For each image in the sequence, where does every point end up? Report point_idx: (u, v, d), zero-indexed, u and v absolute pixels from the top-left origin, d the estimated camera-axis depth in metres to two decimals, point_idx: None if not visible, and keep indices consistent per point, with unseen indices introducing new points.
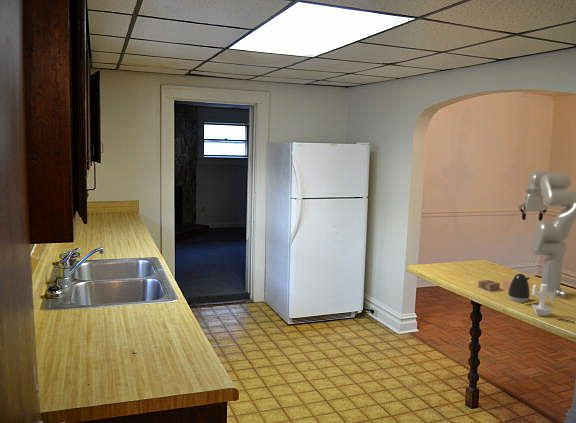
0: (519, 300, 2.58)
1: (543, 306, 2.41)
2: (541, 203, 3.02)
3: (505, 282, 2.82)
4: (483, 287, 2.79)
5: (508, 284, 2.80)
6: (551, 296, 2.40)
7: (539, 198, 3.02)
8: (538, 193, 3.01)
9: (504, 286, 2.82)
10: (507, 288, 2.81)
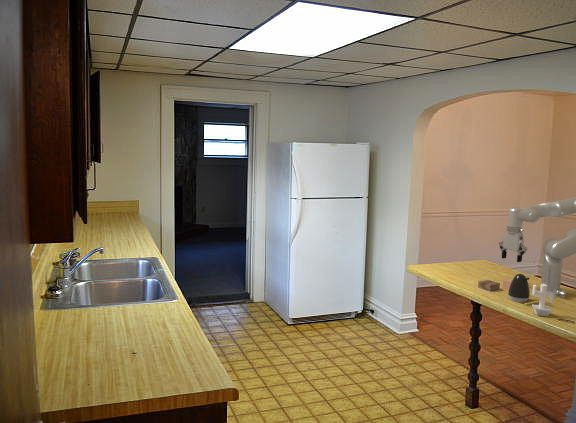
0: (519, 300, 2.58)
1: (543, 306, 2.41)
2: None
3: (505, 282, 2.82)
4: (483, 287, 2.79)
5: (508, 284, 2.80)
6: (551, 296, 2.40)
7: None
8: None
9: (504, 286, 2.82)
10: (507, 288, 2.81)
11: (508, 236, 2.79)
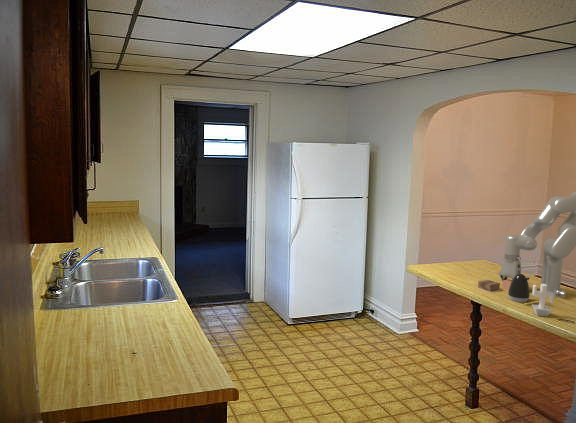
0: (519, 300, 2.58)
1: (543, 306, 2.41)
2: None
3: (505, 282, 2.82)
4: (483, 287, 2.79)
5: (508, 284, 2.80)
6: (551, 296, 2.40)
7: None
8: None
9: (504, 286, 2.82)
10: (507, 288, 2.81)
11: (506, 263, 2.81)
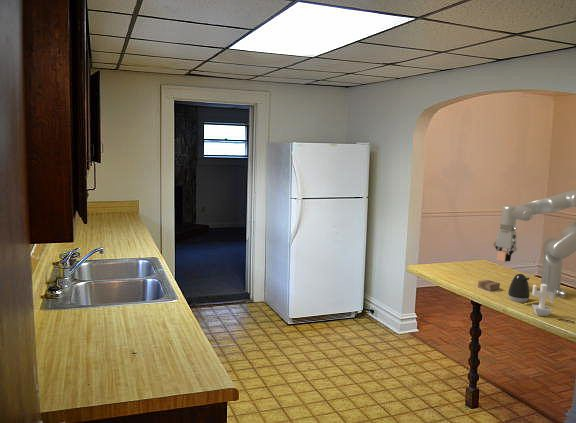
0: (519, 300, 2.58)
1: (543, 306, 2.41)
2: None
3: (500, 252, 2.79)
4: (483, 287, 2.79)
5: (503, 255, 2.78)
6: (551, 296, 2.40)
7: None
8: None
9: (499, 257, 2.80)
10: (501, 259, 2.78)
11: (501, 234, 2.79)
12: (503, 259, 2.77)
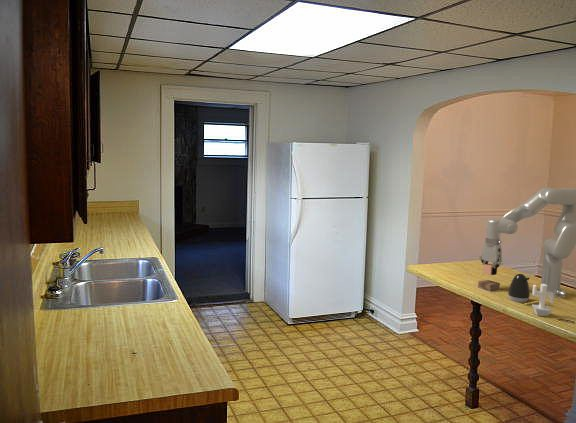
0: (519, 300, 2.58)
1: (543, 306, 2.41)
2: None
3: (486, 266, 2.79)
4: (483, 287, 2.79)
5: (489, 268, 2.78)
6: (551, 296, 2.40)
7: None
8: None
9: (485, 270, 2.80)
10: (488, 272, 2.78)
11: (486, 248, 2.79)
12: (489, 273, 2.77)
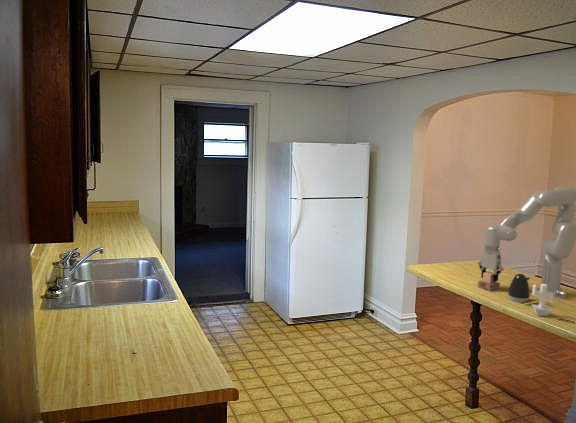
0: (519, 300, 2.58)
1: (543, 306, 2.41)
2: None
3: (485, 274, 2.80)
4: (483, 287, 2.79)
5: (488, 277, 2.78)
6: (551, 296, 2.40)
7: None
8: None
9: (484, 279, 2.80)
10: (487, 281, 2.79)
11: (486, 255, 2.79)
12: (489, 281, 2.78)
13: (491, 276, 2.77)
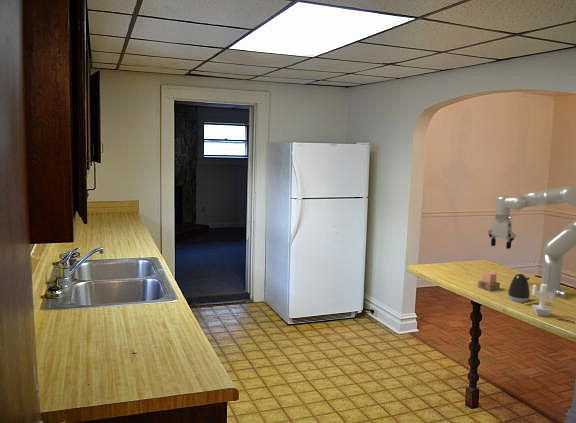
0: (519, 300, 2.58)
1: (543, 306, 2.41)
2: None
3: (485, 274, 2.80)
4: (483, 287, 2.79)
5: (488, 277, 2.78)
6: (551, 296, 2.40)
7: None
8: None
9: (484, 279, 2.80)
10: (487, 281, 2.79)
11: (497, 224, 2.87)
12: (489, 281, 2.78)
13: (491, 276, 2.77)
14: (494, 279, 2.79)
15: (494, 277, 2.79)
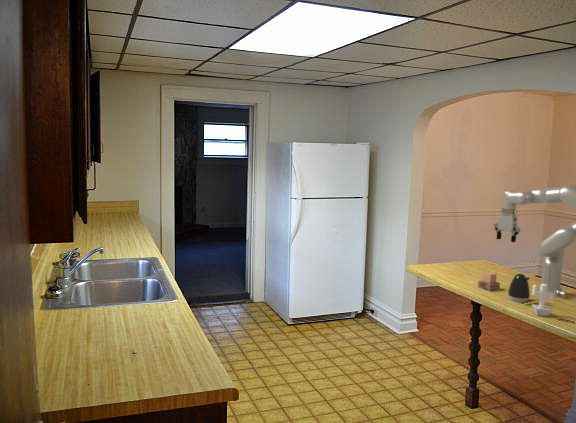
0: (519, 300, 2.58)
1: (543, 306, 2.41)
2: None
3: (485, 274, 2.80)
4: (483, 287, 2.79)
5: (488, 277, 2.78)
6: (551, 296, 2.40)
7: None
8: None
9: (484, 279, 2.80)
10: (487, 281, 2.79)
11: (502, 218, 2.93)
12: (489, 281, 2.78)
13: (491, 276, 2.77)
14: (494, 279, 2.79)
15: (494, 277, 2.79)
